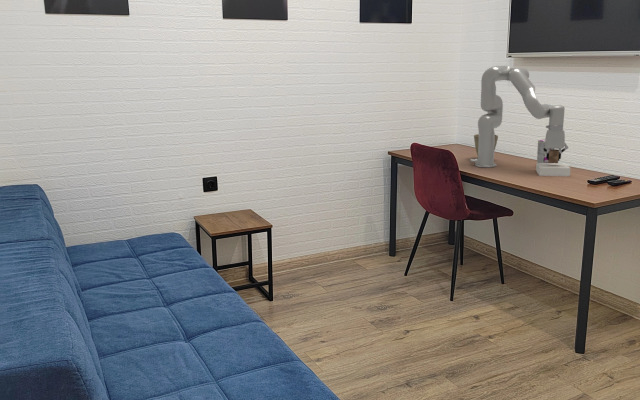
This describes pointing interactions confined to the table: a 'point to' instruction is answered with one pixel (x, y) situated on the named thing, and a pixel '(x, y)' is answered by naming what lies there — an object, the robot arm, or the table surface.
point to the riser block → (552, 169)
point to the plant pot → (476, 139)
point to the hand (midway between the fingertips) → (553, 159)
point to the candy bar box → (541, 153)
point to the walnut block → (553, 156)
